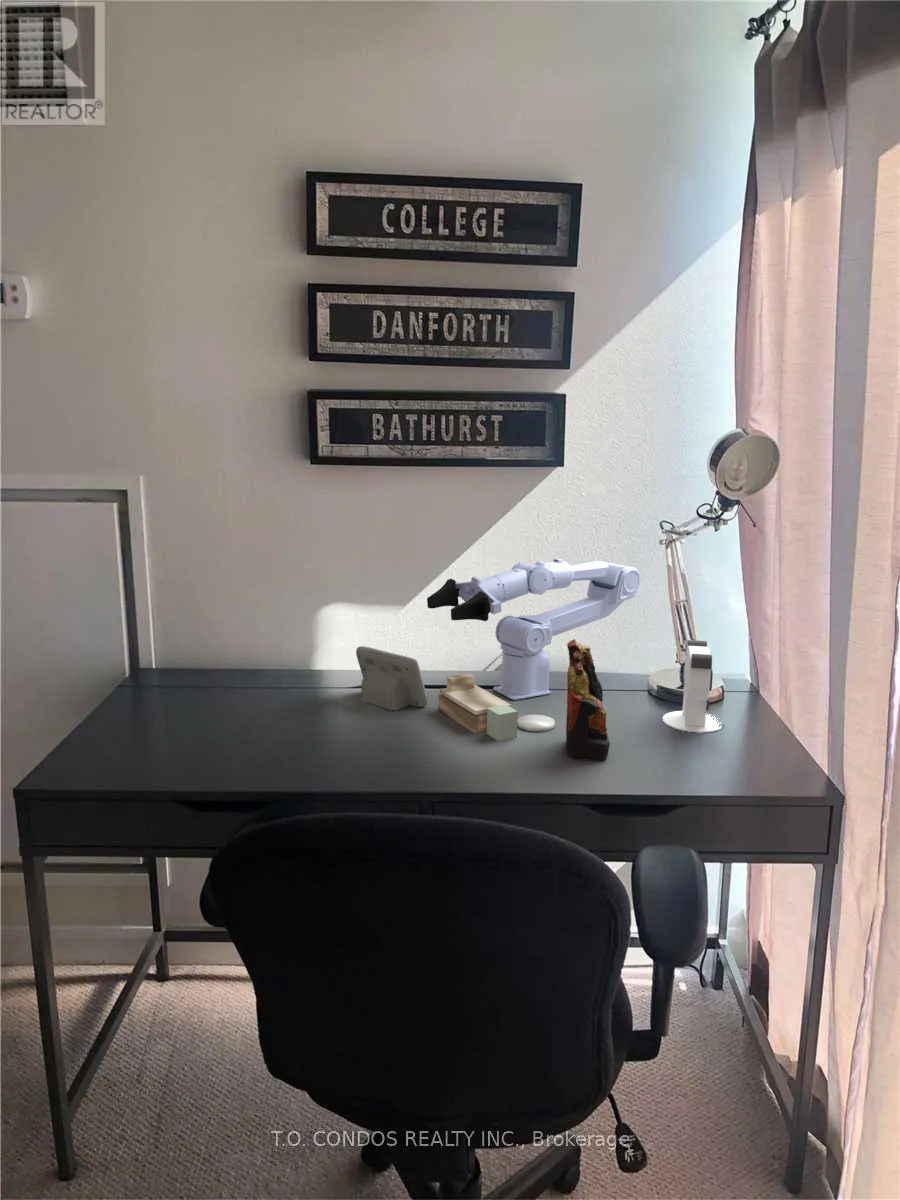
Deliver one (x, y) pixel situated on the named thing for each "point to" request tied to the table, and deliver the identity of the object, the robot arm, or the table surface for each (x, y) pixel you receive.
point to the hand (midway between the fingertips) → (439, 609)
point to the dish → (536, 723)
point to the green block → (502, 722)
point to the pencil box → (463, 715)
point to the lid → (470, 694)
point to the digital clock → (390, 679)
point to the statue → (584, 707)
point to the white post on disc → (695, 692)
